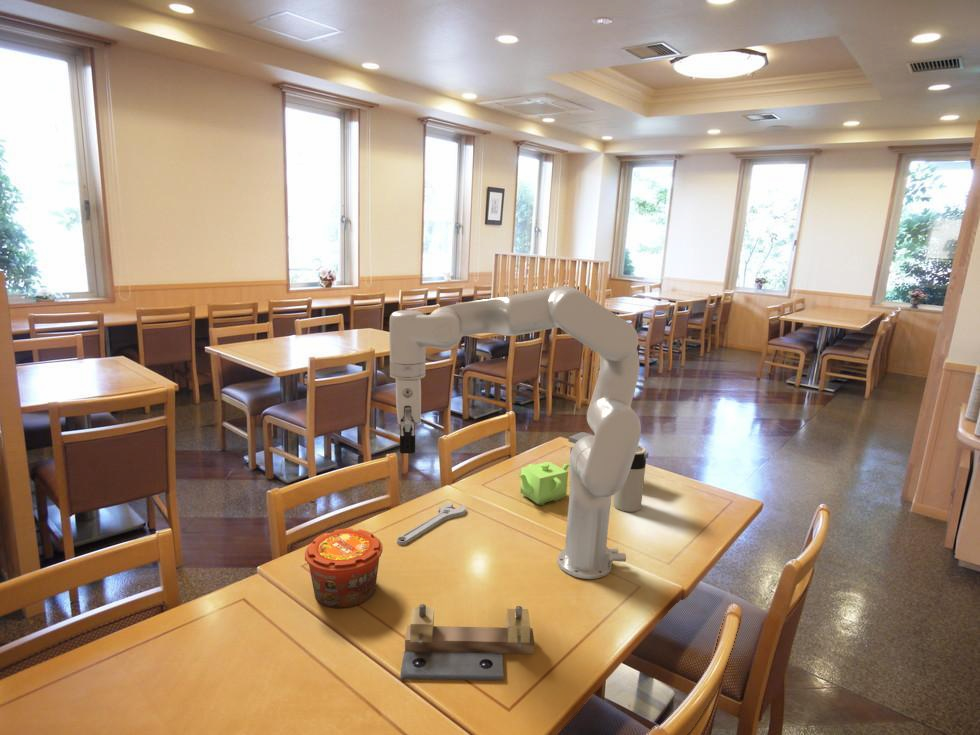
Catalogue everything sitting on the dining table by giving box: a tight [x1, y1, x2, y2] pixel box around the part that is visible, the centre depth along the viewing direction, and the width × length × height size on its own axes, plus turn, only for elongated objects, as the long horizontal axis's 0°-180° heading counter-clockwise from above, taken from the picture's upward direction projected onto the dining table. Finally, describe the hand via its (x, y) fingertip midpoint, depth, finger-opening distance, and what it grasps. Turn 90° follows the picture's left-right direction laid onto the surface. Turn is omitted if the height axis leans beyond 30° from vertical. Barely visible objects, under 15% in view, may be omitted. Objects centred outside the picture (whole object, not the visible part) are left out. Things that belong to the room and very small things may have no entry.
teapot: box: [516, 461, 570, 506], centre depth 173 cm, size 15×13×11 cm
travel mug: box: [612, 444, 647, 513], centre depth 169 cm, size 8×8×18 cm
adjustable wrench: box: [396, 502, 467, 546], centre depth 156 cm, size 25×6×2 cm, turn 141°
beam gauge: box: [404, 603, 535, 655], centre depth 110 cm, size 24×7×8 cm, turn 91°
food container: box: [304, 527, 384, 609], centre depth 126 cm, size 16×16×11 cm
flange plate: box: [399, 651, 504, 681], centre depth 106 cm, size 18×6×1 cm, turn 91°
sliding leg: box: [506, 605, 531, 647], centre depth 110 cm, size 4×7×6 cm, turn 1°
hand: (407, 444), depth 130 cm, fingers open, 9 cm apart
